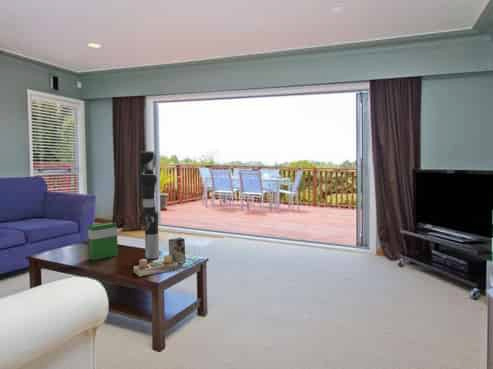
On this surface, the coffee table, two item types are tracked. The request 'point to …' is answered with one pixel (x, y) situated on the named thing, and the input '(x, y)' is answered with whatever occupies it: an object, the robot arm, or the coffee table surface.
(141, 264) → the button terracotta
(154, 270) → the button board
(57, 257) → the coffee table surface
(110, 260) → the coffee table surface
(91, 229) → the green banded box
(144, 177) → the robot arm
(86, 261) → the coffee table surface
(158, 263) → the button sage
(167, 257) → the button ochre
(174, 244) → the coffee box
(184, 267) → the coffee table surface
